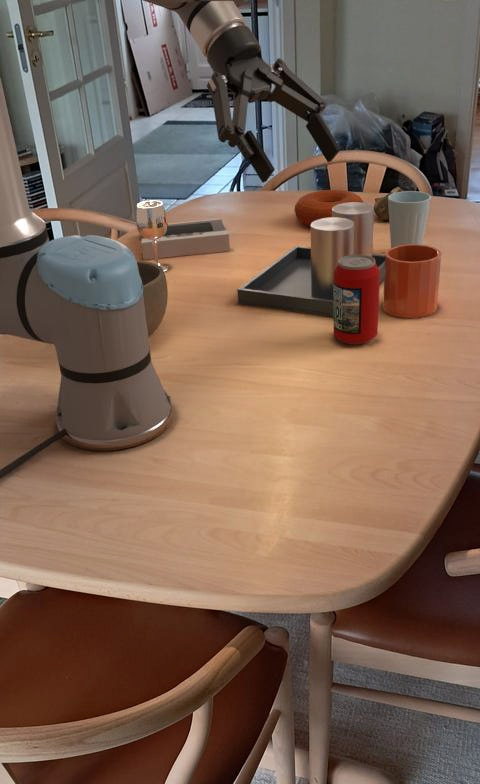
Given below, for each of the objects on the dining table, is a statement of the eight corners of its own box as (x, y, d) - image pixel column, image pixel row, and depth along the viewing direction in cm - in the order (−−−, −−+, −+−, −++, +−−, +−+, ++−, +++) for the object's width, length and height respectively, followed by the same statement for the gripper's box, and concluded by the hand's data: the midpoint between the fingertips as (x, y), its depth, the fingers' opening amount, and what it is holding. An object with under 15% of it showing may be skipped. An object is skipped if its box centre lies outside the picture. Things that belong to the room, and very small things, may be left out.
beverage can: (325, 335, 129) (325, 258, 122) (362, 325, 131) (364, 249, 124) (347, 350, 124) (348, 272, 117) (386, 340, 126) (389, 262, 119)
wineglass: (136, 272, 158) (127, 207, 151) (153, 262, 162) (145, 198, 155) (162, 275, 156) (154, 209, 149) (178, 265, 160) (171, 201, 153)
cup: (435, 255, 155) (439, 197, 149) (400, 263, 153) (403, 205, 147) (412, 244, 161) (415, 188, 155) (378, 252, 159) (380, 195, 153)
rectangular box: (141, 242, 161) (138, 212, 174) (144, 265, 164) (141, 234, 177) (228, 234, 162) (220, 204, 175) (230, 256, 165) (221, 226, 178)
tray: (344, 319, 134) (345, 303, 132) (238, 304, 142) (237, 289, 140) (393, 270, 150) (394, 255, 149) (295, 259, 158) (295, 245, 157)
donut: (378, 216, 177) (379, 192, 174) (336, 235, 168) (336, 210, 165) (323, 206, 185) (322, 183, 182) (280, 224, 176) (279, 200, 174)
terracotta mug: (427, 321, 131) (431, 265, 126) (375, 314, 135) (377, 259, 129) (448, 295, 139) (453, 241, 134) (399, 289, 143) (401, 236, 137)
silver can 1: (363, 286, 143) (365, 215, 136) (325, 282, 146) (325, 212, 139) (377, 272, 148) (379, 203, 141) (340, 268, 151) (341, 200, 144)
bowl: (119, 307, 144) (110, 249, 138) (195, 328, 135) (189, 267, 129) (42, 342, 134) (29, 282, 128) (118, 368, 124) (108, 304, 118)
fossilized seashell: (422, 198, 177) (375, 207, 179) (420, 175, 171) (371, 184, 174) (425, 226, 174) (377, 234, 177) (422, 203, 168) (372, 212, 171)
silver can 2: (343, 305, 137) (344, 232, 130) (304, 300, 140) (303, 228, 133) (359, 290, 142) (360, 219, 135) (321, 285, 145) (320, 215, 138)
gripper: (276, 50, 131) (346, 164, 130) (150, 75, 118) (227, 201, 117) (299, 11, 124) (373, 131, 124) (169, 34, 111) (250, 167, 111)
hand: (302, 166), depth 121 cm, fingers open, 13 cm apart
